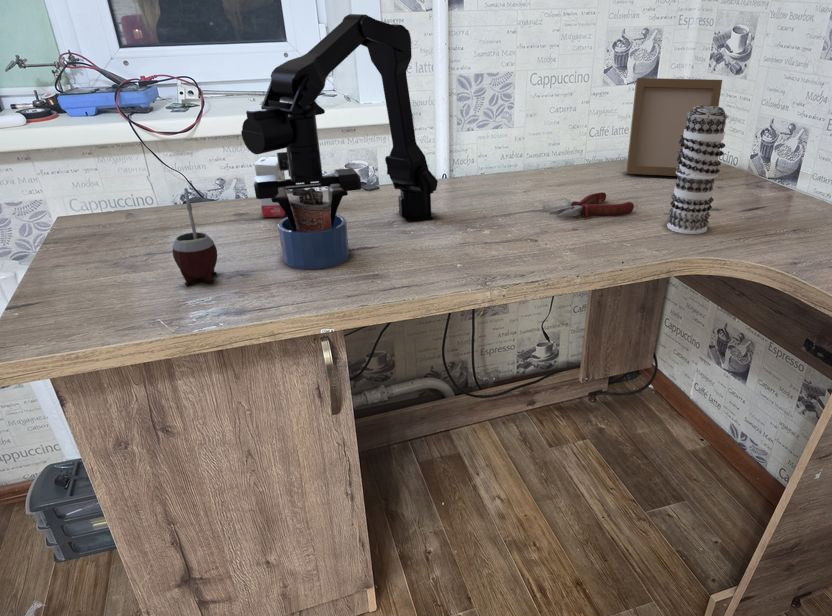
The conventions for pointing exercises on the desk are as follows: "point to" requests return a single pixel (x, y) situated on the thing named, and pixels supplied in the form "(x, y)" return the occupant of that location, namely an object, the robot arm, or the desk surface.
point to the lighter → (310, 211)
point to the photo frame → (664, 120)
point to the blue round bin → (314, 245)
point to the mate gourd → (195, 253)
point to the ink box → (272, 168)
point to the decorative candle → (697, 169)
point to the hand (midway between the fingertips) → (313, 228)
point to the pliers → (593, 207)
